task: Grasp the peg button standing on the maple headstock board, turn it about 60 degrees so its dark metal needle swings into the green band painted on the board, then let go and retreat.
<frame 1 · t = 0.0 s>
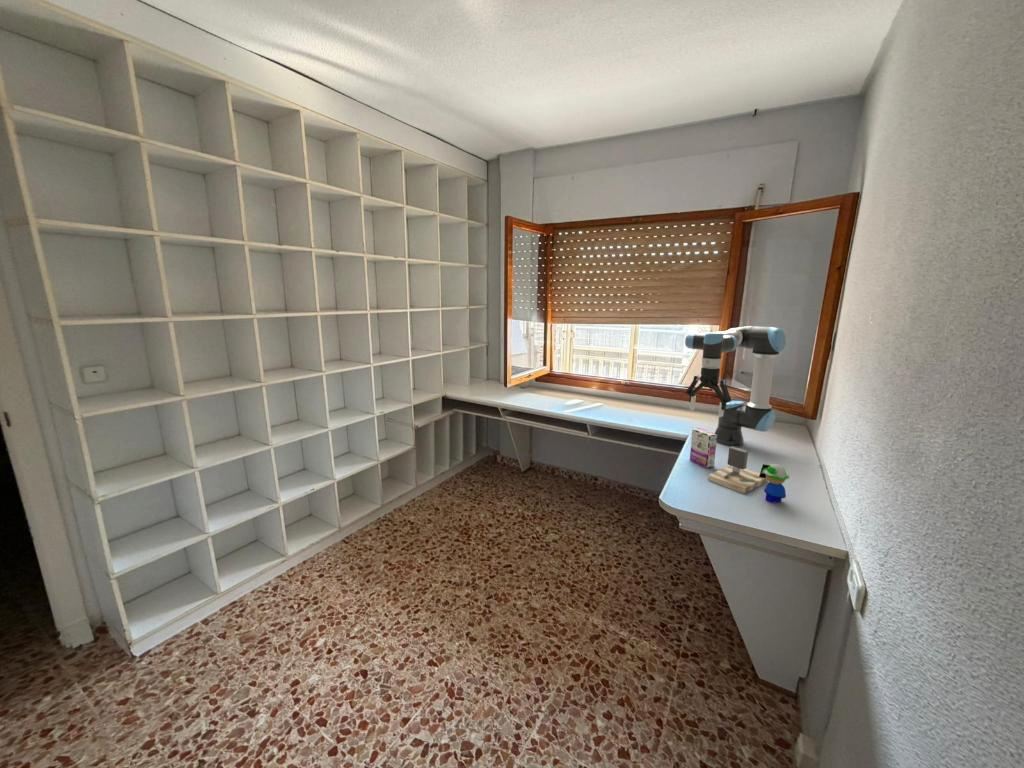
hand: (706, 413, 187), 28 cm above the table, fingers open, 13 cm apart
candy bar box: (701, 463, 201), on the table
headstock: (737, 480, 182), on the table
peg: (732, 463, 181), point 8 cm above the table, hinge at 0.0°
toy: (772, 500, 165), on the table
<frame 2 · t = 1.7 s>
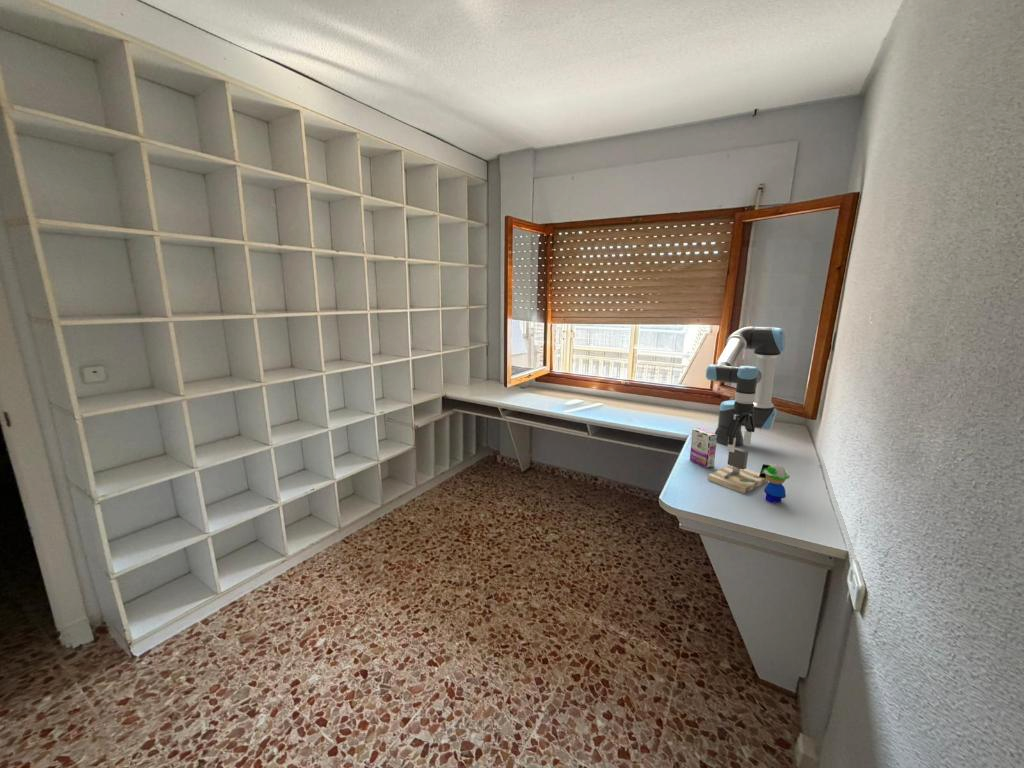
hand: (738, 448, 182), 14 cm above the table, fingers open, 13 cm apart
nothing on the table moved.
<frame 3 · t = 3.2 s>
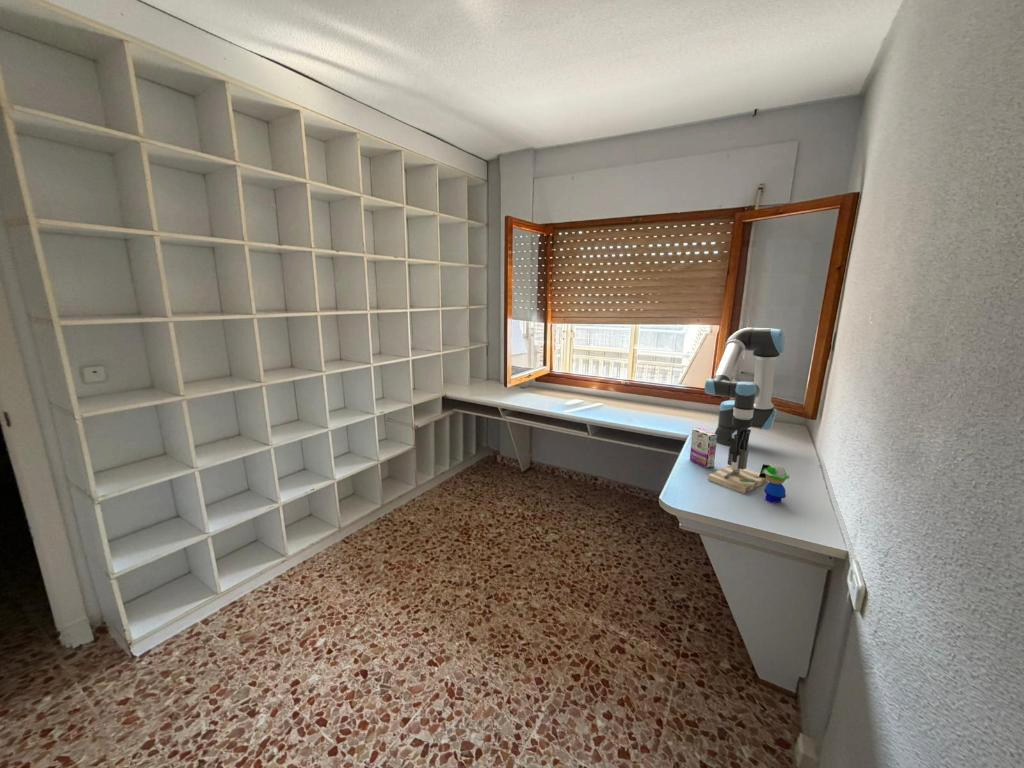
hand: (736, 467, 184), 5 cm above the table, fingers closed on peg, 3 cm apart
peg: (732, 463, 181), point 8 cm above the table, hinge at 0.0°, touching gripper
everything else where it was.
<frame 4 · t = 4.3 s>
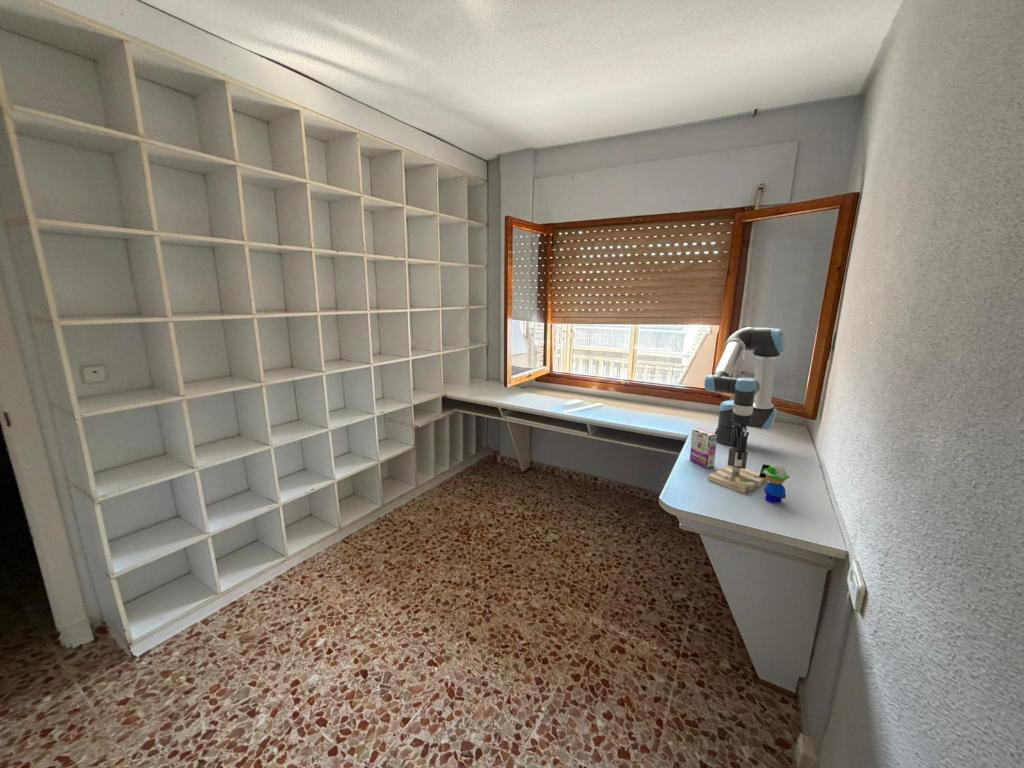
hand: (735, 463, 184), 7 cm above the table, fingers closed on peg, 4 cm apart
peg: (735, 463, 180), point 8 cm above the table, hinge at 17.3°, touching gripper
everything else where it was.
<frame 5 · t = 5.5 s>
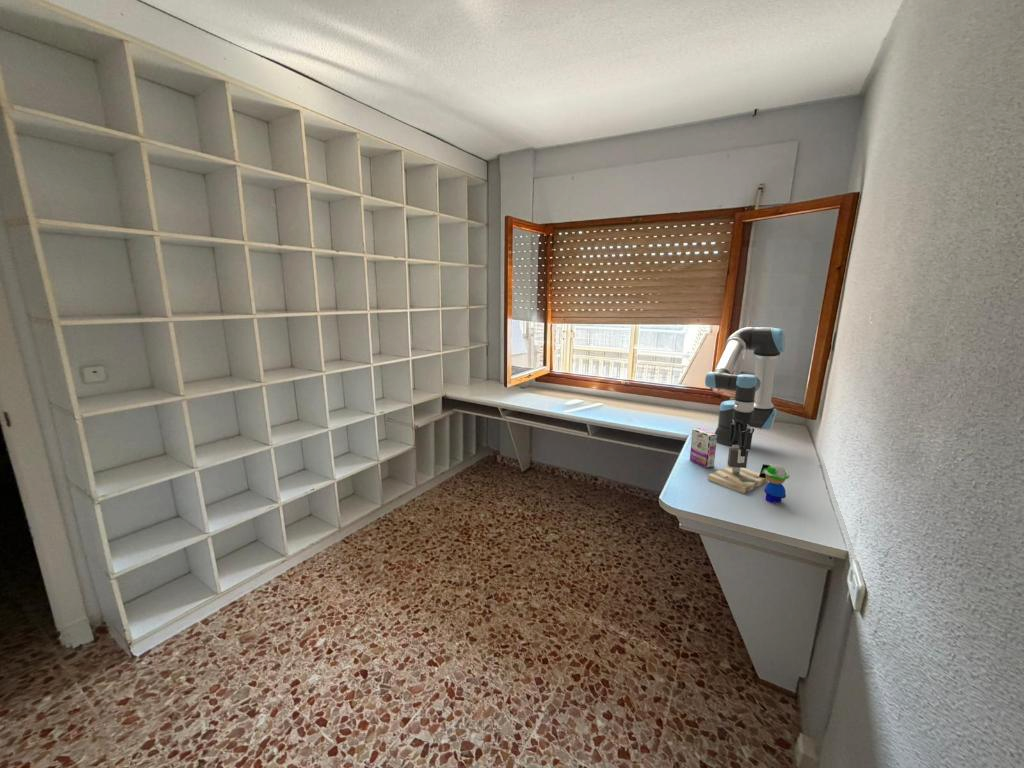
hand: (737, 460, 183), 8 cm above the table, fingers closed on peg, 4 cm apart
peg: (740, 464, 179), point 8 cm above the table, hinge at 44.0°, touching gripper
everything else where it was.
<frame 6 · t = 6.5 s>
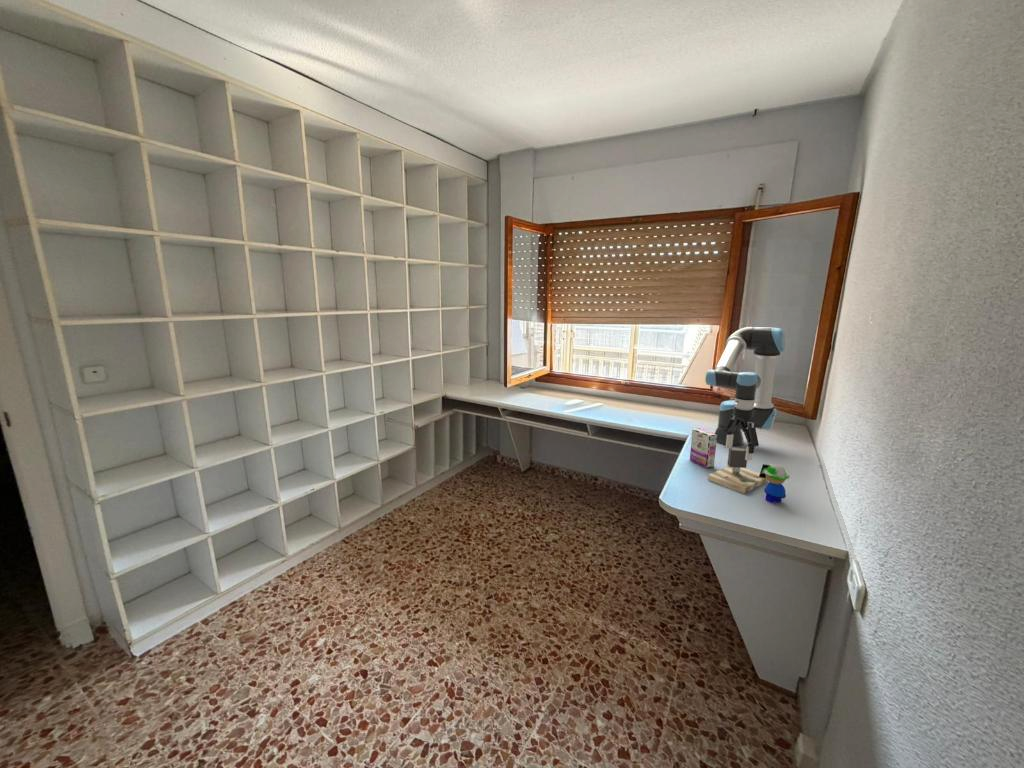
hand: (738, 453, 183), 11 cm above the table, fingers open, 13 cm apart
peg: (740, 464, 179), point 8 cm above the table, hinge at 46.4°
everything else where it was.
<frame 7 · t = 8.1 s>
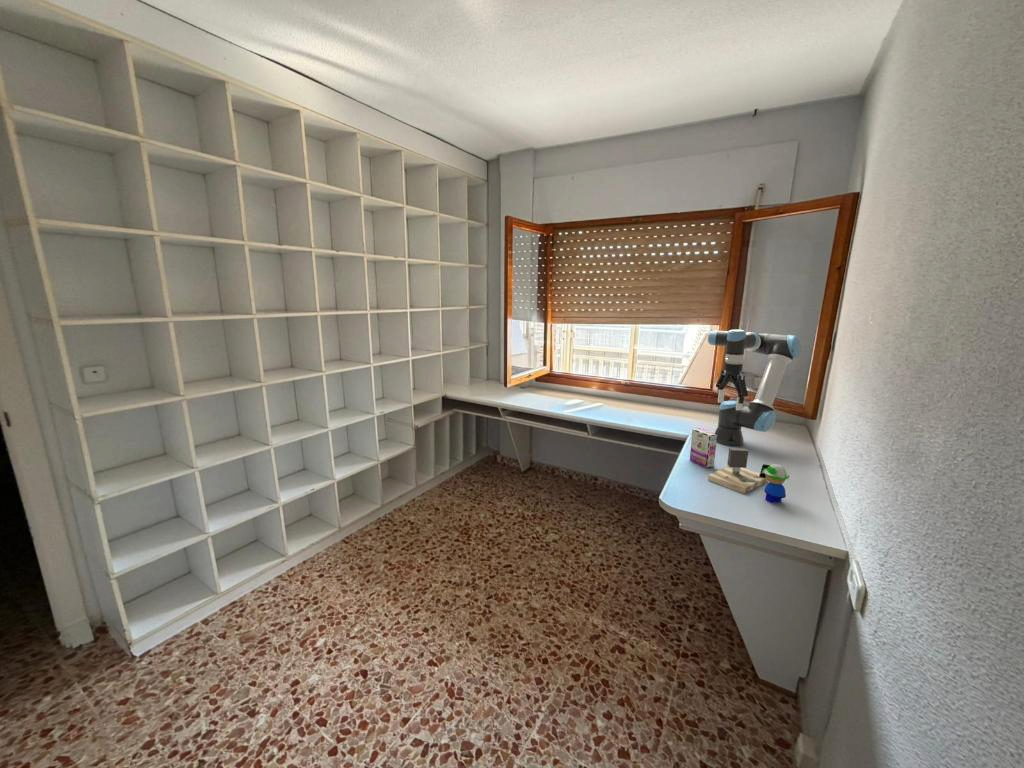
hand: (729, 406, 199), 28 cm above the table, fingers open, 13 cm apart
nothing on the table moved.
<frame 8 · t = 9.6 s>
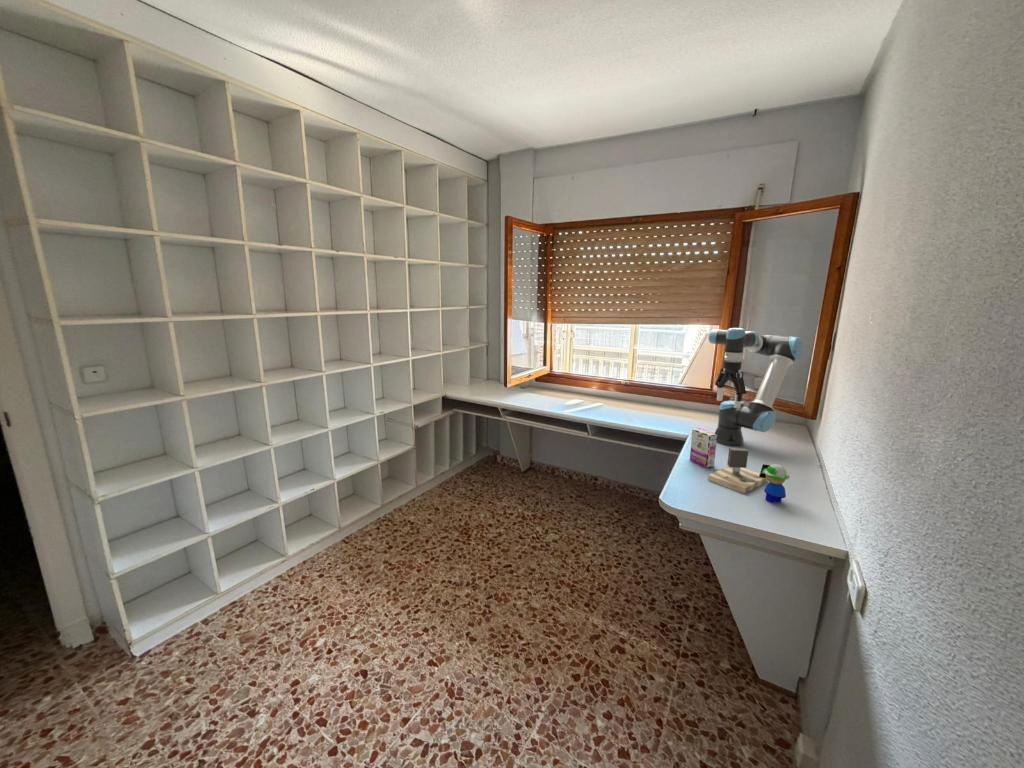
hand: (728, 404, 200), 29 cm above the table, fingers open, 13 cm apart
nothing on the table moved.
at the end: peg at +46° (first picture: +0°); the gripper is holding nothing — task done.
